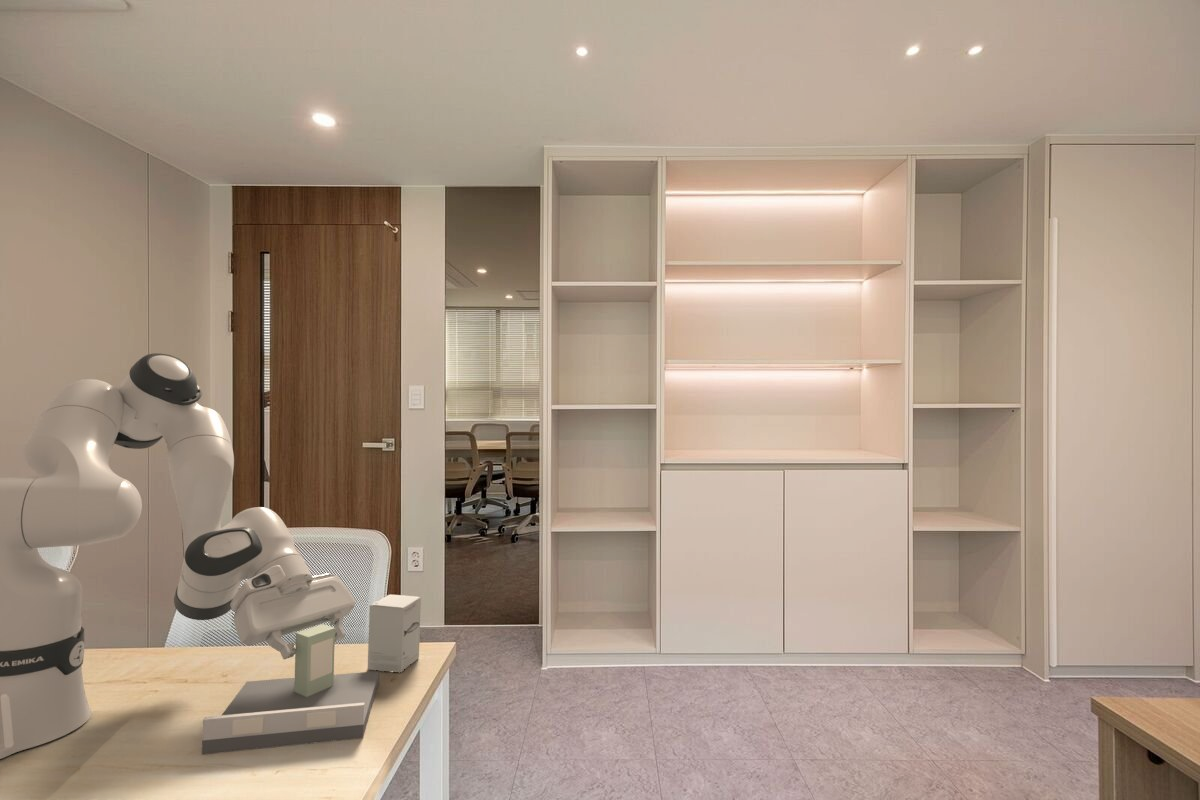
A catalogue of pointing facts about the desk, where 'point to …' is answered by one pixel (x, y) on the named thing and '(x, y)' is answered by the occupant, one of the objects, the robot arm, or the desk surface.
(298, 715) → the shelf board
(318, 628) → the sage carton
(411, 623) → the supplement box
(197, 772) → the desk surface
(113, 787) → the desk surface
